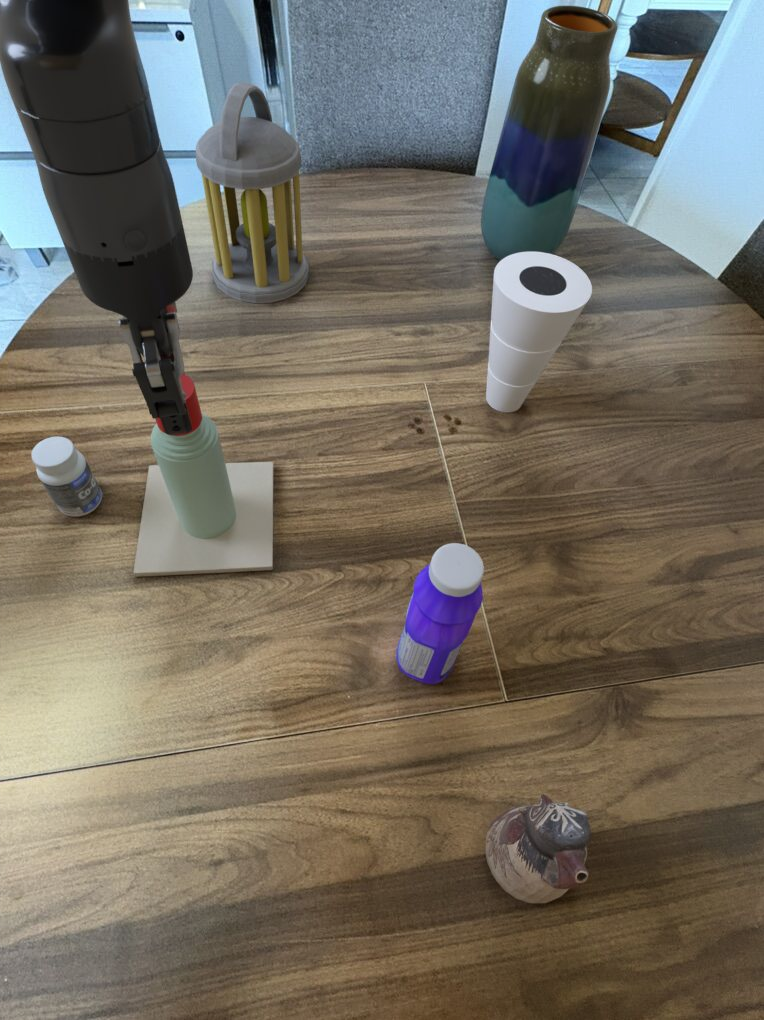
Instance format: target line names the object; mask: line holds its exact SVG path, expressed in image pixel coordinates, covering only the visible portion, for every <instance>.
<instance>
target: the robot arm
mask: <svg viewBox="0 0 764 1020" xmlns="http://www.w3.org/2000/svg"><path fill="white" fill-rule="evenodd" d="M129 3H130V2H129V0H0V68H1V72H2V76H3V78H4V81H5V84H6V87H7V90H8V93H9V96H10V98H11V101H12V104H13V106H14V109H15V111H16V113H17V116H18V119H19V121H20V124H21V126H22V129H23V131H24V134H25V137H26V139H27V141H28V144H29V146H30V150H31V152H32V155H33V157H34V160H35V164H36V167H37V168H36V169H37V171H38V177H39V180H40V185H41V188H42V192H43V195H44V196H45V200H46V204H47V206H48V208H49V211H50V214H51V216H52V219H53V221H54V224H55V226H56V229H57V230H58V234H59V236H60V240H61V241H62V243H63V246H64V249H65V252H66V255H67V257H68V259H69V261H70V264H71V266H72V269H73V271H74V274H75V277H76V279H77V282H78V285H79V287H80V289H81V291H82V293H83V294H84V296H85V297H86V298H87V299H88V300H89V301H90V302H91V303H92V304H94V305H95V306H97V307H99V308H101V309H104V310H106V311H109V312H113V313H116V314H118V315H120V316H122V317H120V318H118V324H119V329H120V333H121V336H122V339H123V342H124V343H125V344H126V345H127V346H128V347H129V351H130V355H131V357H132V369H131V372H132V375H133V377H135V380H136V382H137V385H138V387H139V389H140V392H141V394H142V396H143V399H144V401H145V403H146V406H147V408H148V413H149V415H151V418H152V419H153V420H155V418H160V420H161V422H162V425H163V428H164V431H165V433H166V434H168V435H175V434H182V433H188V432H190V431H191V430H192V424H191V419H190V416H189V412H188V409H187V404H186V401H185V398H187V397H186V392H184V391H183V386H182V382H181V378H180V377H181V376H182V375H183V374H185V361H184V358H183V352H182V349H181V345H180V340H179V339H180V333H181V332H180V330H181V329H180V325H179V320H178V314H177V313H178V311H177V305H176V302H177V301H179V300H180V299H181V298H182V297H183V296H184V295H185V294H186V293H187V292H188V290H189V288H190V287H191V285H192V282H193V277H194V271H193V265H192V261H191V256H190V251H189V247H188V246H189V245H188V243H187V242H188V241H187V237H186V232H185V227H184V224H183V218H182V215H181V210H180V209H181V208H180V204H179V201H178V196H177V190H176V187H175V182H174V178H173V174H172V170H171V168H170V165H169V162H168V159H167V157H166V154H165V151H164V149H163V145H162V141H161V138H160V133H159V130H158V125H157V120H156V116H155V111H154V107H153V102H152V98H151V92H150V89H149V87H150V86H149V82H148V79H147V76H146V72H145V68H144V65H143V62H142V58H141V54H140V51H139V47H138V44H137V40H136V35H135V30H134V28H133V23H132V18H131V12H130V11H131V10H130V4H129ZM143 359H144V361H143ZM185 375H186V374H185Z"/></svg>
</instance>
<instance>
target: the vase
mask: <svg viewBox="0 0 764 1020" xmlns="http://www.w3.org/2000/svg"><path fill="white" fill-rule="evenodd" d="M540 16H541V17H540V21H539V24H538V29H537V34H536V36H535V37H536V38H535V41H534V43H533V44H532V46H531V48H530V49H529V51H528V52H527V54H526V55H525V57H524V58H523V60H522V62H520V63H521V64H520V65H519V67H518V69H517V73H516V76H515V79H514V82H513V86H512V90H511V94H510V98H509V101H508V105H507V109H506V113H505V115H504V116H505V117H504V120H503V124H502V128H501V131H500V135H499V139H498V143H497V147H496V151H495V153H494V158H493V162H492V166H491V169H490V173H489V177H488V180H487V181H488V182H487V185H486V189H485V192H484V193H485V194H484V197H483V201H482V202H483V203H482V208H481V216H480V230H481V235H482V238H483V241H484V244H485V245H486V248H487V250H488V251H489V253H490V254H491V255H492V256H493V258H496V259H497V260H498V261H499V262H500V261H501V260H502V259H504V258H505V257H507V256H509V255H512V254H515V253H520V252H543V253H549V254H553V255H554V254H555V252H556V251H558V249H559V248H560V247H561V245H562V244H563V242H564V240H565V238H566V236H567V234H568V232H569V230H570V227H571V224H572V222H573V219H574V216H575V212H576V209H577V207H578V203H579V200H580V196H581V192H582V189H583V187H584V182H585V179H586V175H587V171H588V168H589V165H590V161H591V158H592V154H593V150H594V147H595V144H596V140H597V136H598V133H599V130H600V126H601V122H602V119H603V116H604V113H605V108H606V104H607V101H608V97H609V94H610V90H611V89H610V88H611V64H610V55H611V51H612V48H613V46H614V41H615V38H616V35H617V32H618V24H617V22H616V20H615V19H613V18H612V17H611V16H610V15H608V14H606V13H604V12H601V11H599V10H597V9H593V8H589V7H584V6H578V5H555V6H551V7H549V8H547V9H545V10H544V11H543V12H542V13H541V15H540Z"/></svg>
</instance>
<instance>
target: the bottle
mask: <svg viewBox="0 0 764 1020" xmlns="http://www.w3.org/2000/svg"><path fill="white" fill-rule="evenodd" d="M484 573H485V567H484V562H483V559H482V557H481V556H480V555H479V553H478V552H477V551H476V550H475V549H473V548H472V547H470V546H469V545H466V544H463V543H458V542H452V543H447V544H444V545H442V546H440V547H439V548H438V549H436V551H435V552H433V554H432V557H431V559H430V563H429V564H427V565H426V566H425V567H424V568H423V569H421V570H420V572H419V573H418V574H417V575H416V578H415V580H414V583H413V592H412V594H411V597H410V599H409V602H408V605H407V610H406V616H405V622H404V626H403V629H402V632H401V635H400V638H399V640H398V644H397V647H396V663H397V666H398V668H399V670H400V672H402V674H404V675H405V676H406V677H407V678H410V679H412V680H414V681H417V682H420V683H422V684H426V685H435V684H439V683H441V682H442V681H444V680H445V679H446V678H447V677H448V676H449V674H450V673H451V671H452V670H453V668H454V665H455V663H456V660H457V659H458V654H459V652H460V651H461V648H462V646H463V643H464V641H465V640H466V638H467V637H468V634H469V632H470V630H471V629H472V626H473V623H474V621H475V618H476V615H477V613H478V612H479V611H480V609H481V606H482V604H483V600H484V595H483V594H484V593H483V592H484V591H483V587H482V583H481V582H482V579H483V577H484Z"/></svg>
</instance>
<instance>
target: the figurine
mask: <svg viewBox="0 0 764 1020" xmlns="http://www.w3.org/2000/svg"><path fill="white" fill-rule="evenodd" d="M591 829H592V828H591V825H590V823H589V820H588V814H587V812H586V811H585V810H583V809H580V808H577V807H573V806H570V803H568V802H567V801H561V802H555V801H552V799H551V797H549V795H547V794H541V795H540V800H539V801H538V802H537V803H535V804H533V805H515V806H511V807H510V808H509V809H507V810H505V811H503V812H502V813H501V814H499V815H498V816H496V817H495V818H494V819H492V820H491V821H490V823H489V825H488V829H487V831H486V836H485V858H486V862H487V865H488V867H489V870H490V873H491V875H492V877H493V878H494V879H495V881H496V882H497V884H498V885H499V886H500V887H501V889H503V890H504V891H505V893H507V894H509V895H510V896H512V897H513V898H514V899H516V900H519V901H521V902H525V903H527V904H547V903H549V902H552V901H554V900H557V899H558V898H560V897H562V896H564V894H566V893H567V892H568V891H569V890H570V889H575V888H576V889H577V888H578V887H579V886H580V885H581V884H584V883H585V882H586V881H587V880H588V877H589V871H588V870H587V867H586V866H585V864H586V862H587V857H588V843H589V842H590V838H591V835H592V830H591Z"/></svg>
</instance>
